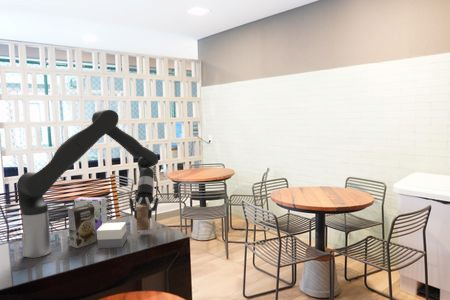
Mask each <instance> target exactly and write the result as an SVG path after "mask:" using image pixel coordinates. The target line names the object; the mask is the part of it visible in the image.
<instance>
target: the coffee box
mask: <svg viewBox="0 0 450 300" xmlns="http://www.w3.org/2000/svg"><path fill="white" fill-rule="evenodd" d="M67 216H68V217H67V218H68V219H67V220H68V234H69V236H68V237H69V246H71V247H73V248H76V249H79V248H83V247H85V246H89V245H91V244H94V243H95V244H96V242H97V234H96V232H95V213H94V207H93V206H88V205H85V206H80V207H76V208H74V207H72V208H68V209H67Z"/></svg>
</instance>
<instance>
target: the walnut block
mask: <svg viewBox="0 0 450 300" xmlns="http://www.w3.org/2000/svg"><path fill="white" fill-rule="evenodd" d="M136 206H137V207H136ZM136 206H135V208H137V220H136V228H137V231H150V230H149V229H150V227H151V223H150V222H151V221H150V220H151V218H150V219H148V211H149V204H140V205H137V204H136Z"/></svg>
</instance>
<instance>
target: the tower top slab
mask: <svg viewBox="0 0 450 300" xmlns="http://www.w3.org/2000/svg"><path fill="white" fill-rule="evenodd" d="M127 230H128V229H127V222H126V221H124V222H120V221H119V222H107V223H103V224H102V225H101V226H100V227H99V228H98V230H97V234H96V241H98V240H103V239H121V238H122V237H123V235H124V234H125V232H127Z"/></svg>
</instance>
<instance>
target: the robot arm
mask: <svg viewBox="0 0 450 300" xmlns="http://www.w3.org/2000/svg"><path fill="white" fill-rule="evenodd" d="M91 122H92V123H91V124H90V125H89V126H87V127H85V128H83V129H81V130H80V131H78V132H76V133H75V134H72V136H70V137H69V138H67V140H65V141H64V142H63V143H62V144H61V145H60V146H59V147H58V148H57V149H56V151H55V152H54V155H52V158H51V160H50V161H49V162H48V163H47V164H46V165H45V166H43V167H42V168H41V169H40V170H39V171H36V172H25V173H23V174H22V175H21V176H20V177H19V178H18V180H17V186H16V187H17V197H18V204H19V207H20V210H21V215H22V216H21V217H22V229H23V232H21V244H22V257H23V258H24V257H26V258H30V259H33V258H42V257H44V256H46V255H49V254H51V252H52V245H51V233H50V221H49V220H50V219H49V206H48V204H47V202H46V200H45V199H44V195H45V194H46V193H47V192H48V191H49V190H50V189H51V187H53V185H54V184H55V183H56V182H57V181H58V179H60V177H61V176H63V174H65V172H67V171H68V170H69V169H70V168H71V167H72V166H73V165H74V164H75V163H76V162H78V161H79V160H80V159H81V158H82V157H83V156H84V155H85V154H86V153H87V152H88V151H89V150H90V149H91V148H92V147H93V146H94V145H95V144H96V143H97V142H98V141H99V140H101V138H103V137H104V136H105V135H106V136H108V137H109V138H111V139H112V140H113V141H115V142H116V143H117V144H119V145H120V146H121V147H122V148H123V149H124V150H126V151H127V152H128V154H130V155H131V156H132V157H133V158H136V159H137V158H138V160H137V167H138V172H139V176H138V177H139V178H138V182H137V191H136V197H135V198H130V199H129V205H130V209H131V212H132V213H133V214H134V215H133V216H134V217H133V218H134V219H135V220H136V221H137V208H136V207H137V205H140V204H149V211H148V219H150V220H151V219H152V215H153V214H152V213H153V212H156V211H157V208H158V206H159V203H160V199H159V197H156V198H155V197H154V188H155V187H154V185H155V184H154V180H155V178H154V177H155V171H154V170H153V169H152V167H154V166H156V165H157V164H158V163H159V158H158V156H157V154H156V153H155V152H154V151H152V150H151V149H148V148H147V147H145V146H143V145H142V144H141V142H139V141H138V140H137V139H136V138H135V137H133V136H131V135H130V134H128V133H127V132H125V131H124V130H122V129H121V128H119V127H118V126H117V125H118V123H119V115H118V113H117V111H115V110H113V109H100V110H97V111H95V112H94V113H93V114H92V117H91ZM135 203H136V206H135V205H134V204H135ZM152 203H153V206H151V204H152ZM134 206H135V207H134Z"/></svg>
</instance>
